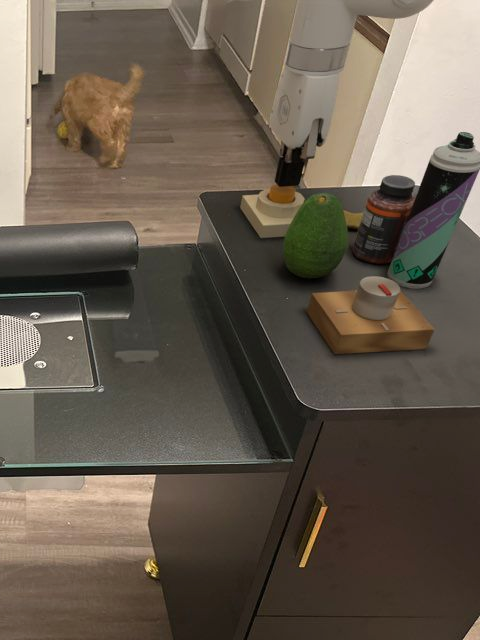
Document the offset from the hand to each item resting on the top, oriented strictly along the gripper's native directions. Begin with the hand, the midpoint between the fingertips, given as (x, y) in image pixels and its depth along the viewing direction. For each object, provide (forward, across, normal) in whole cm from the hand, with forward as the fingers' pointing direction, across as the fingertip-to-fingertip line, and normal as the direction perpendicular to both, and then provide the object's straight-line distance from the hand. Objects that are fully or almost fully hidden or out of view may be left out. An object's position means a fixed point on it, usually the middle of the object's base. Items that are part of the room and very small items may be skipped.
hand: (286, 183), depth 109 cm
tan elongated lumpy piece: (+6, +4, +12) cm, 14 cm away
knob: (+3, +29, +1) cm, 29 cm away
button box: (+6, 0, 0) cm, 6 cm away
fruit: (+6, +16, -2) cm, 17 cm away
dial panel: (+6, +29, +1) cm, 30 cm away
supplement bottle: (+6, +12, +10) cm, 16 cm away
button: (+3, 0, 0) cm, 3 cm away
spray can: (+7, +18, +12) cm, 22 cm away
